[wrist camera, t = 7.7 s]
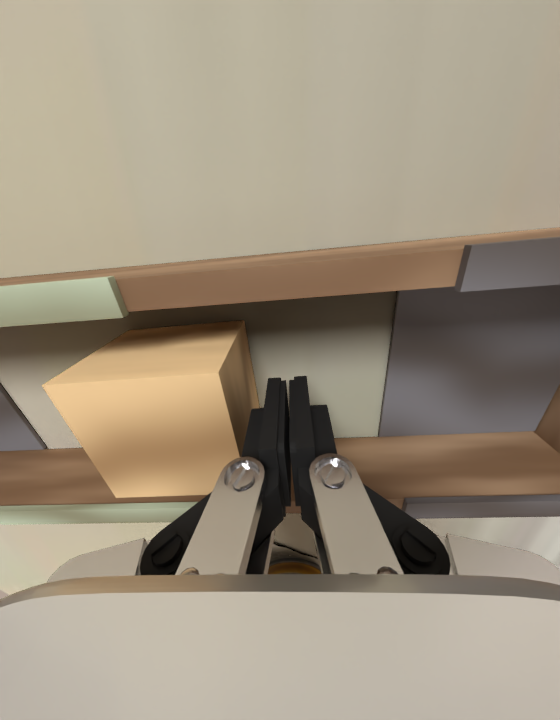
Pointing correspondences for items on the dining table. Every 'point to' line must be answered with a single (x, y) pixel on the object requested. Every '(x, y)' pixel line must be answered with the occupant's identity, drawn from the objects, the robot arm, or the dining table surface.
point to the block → (161, 407)
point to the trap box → (402, 385)
